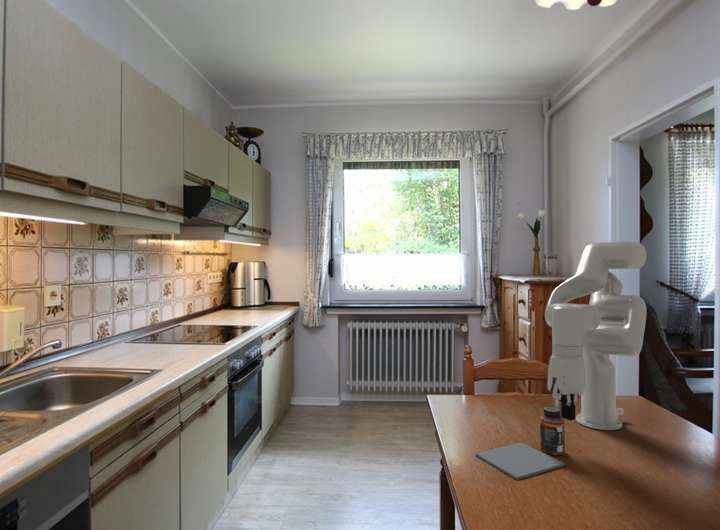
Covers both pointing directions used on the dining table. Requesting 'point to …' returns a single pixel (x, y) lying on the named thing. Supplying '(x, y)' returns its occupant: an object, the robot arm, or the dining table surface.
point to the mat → (519, 460)
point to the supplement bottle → (552, 432)
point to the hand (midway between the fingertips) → (568, 418)
